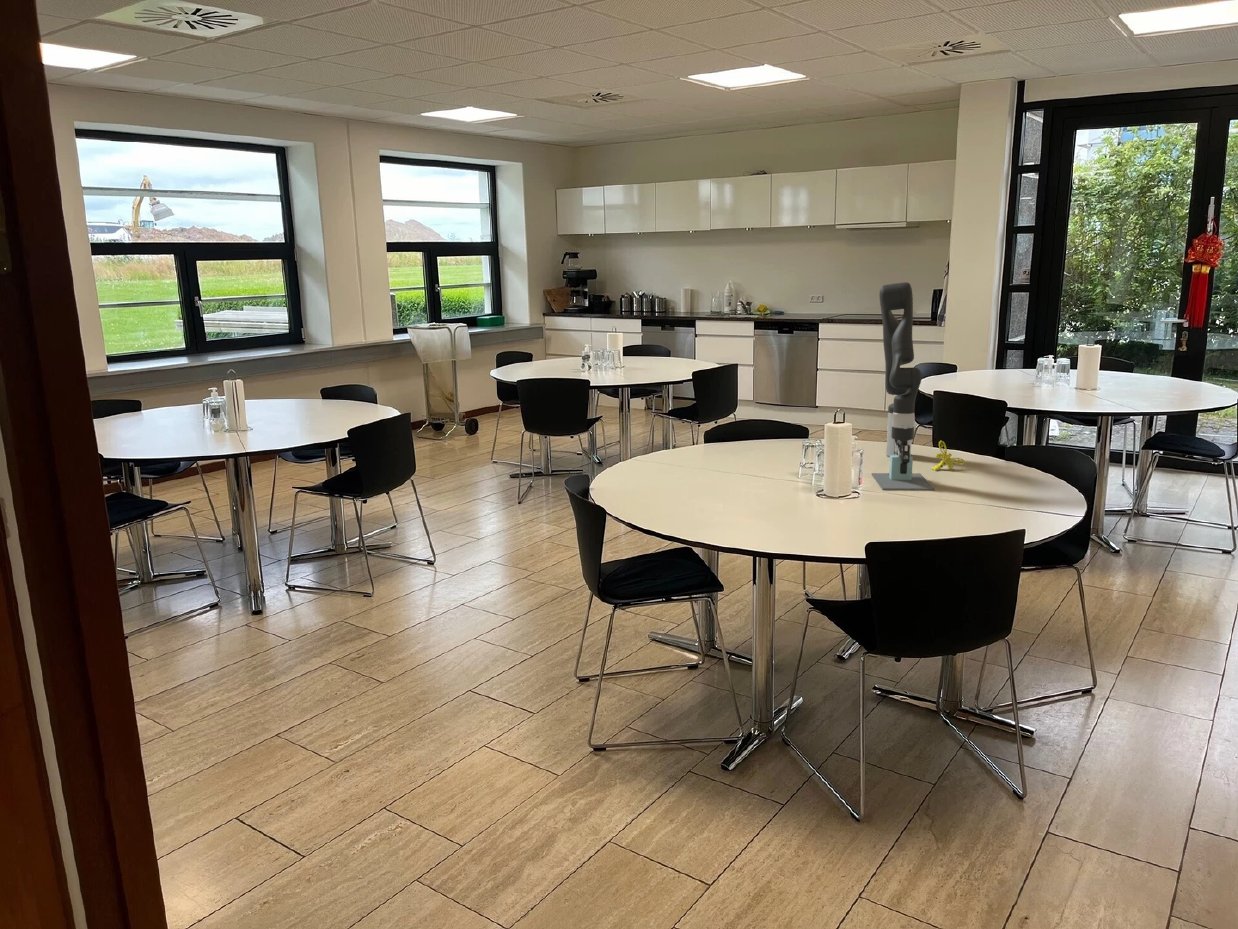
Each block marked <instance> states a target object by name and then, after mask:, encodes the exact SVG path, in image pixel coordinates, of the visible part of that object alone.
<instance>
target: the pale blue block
mask: <svg viewBox="0 0 1238 929" xmlns="http://www.w3.org/2000/svg"><path fill="white" fill-rule="evenodd" d="M904 459H906V458H905V457H904ZM909 460H910V462H909V463H907V473H906V474H901V473H900V458H899V457H898V455H890V457H889V478H890V479H891V480H912V473H913V461H914V457H913V456H912V455H910V458H909Z"/></svg>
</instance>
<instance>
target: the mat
mask: <svg viewBox="0 0 1238 929" xmlns="http://www.w3.org/2000/svg"><path fill="white" fill-rule="evenodd" d="M871 476H872V477H873V479H874V480H875V482H876V483H877V484H878V486H879V487H880V488H881V490H882V491H935V490H936V488H935V487H934V485H932V484H931V483H930V482H929V480H927V478H926V477H925V476H924V475H922V473H920V472H918V473H917V472H916V473H915V472H912V480H891V479H890V478H889V473H888V472H887V473H885V472H878V473H877V472H871Z"/></svg>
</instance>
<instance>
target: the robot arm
mask: <svg viewBox="0 0 1238 929" xmlns="http://www.w3.org/2000/svg"><path fill="white" fill-rule="evenodd" d="M878 295H879V296H878V297H879V306H880V311H881V319H882V336H883V337H882V340H883V341H882V342H883V351H884V361H885V363H884V364H885V379H884V381H885V382H884V384H885V385H884V386H885V392H886V393H887V394H889V395H892V396H894V397H893V403H891V404H889V405H888V407H887V429H886V434H887V435H886V448H885V449H886V450H885V451H886V452H885V454H886V457H889V458H890V455H898V457H899V458H900V473H901V474H906V473H907V463H909V462H910V460H909V458H910V455H911V453H912V440H914V439H915V437H914V436H915V422H916V417H915V407H916V398H917V395H918V391H919V388H920V387H921V386H920V385H921V383H922V378H923V374H922V372H921V369H919V368H918V367H901V366H903V365H904V366H905V365H907V364H910V363H912V362H913V361H914V359H915V351H914V343H913V324H914V322H913V320H914V298H913V297H914V295H913V289H912V286H911V284H910V283H909V282H897V283H896V282H895V283H888V284H883V285H881V287H880V289H879V294H878ZM897 310H903V314H902V318H901V320H900V321H899V320H898V319H897V317H895V316H894V313H893V312H892V311H897ZM911 456H912V455H911ZM904 457H905V458H906V459H904Z"/></svg>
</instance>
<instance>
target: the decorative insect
mask: <svg viewBox="0 0 1238 929" xmlns="http://www.w3.org/2000/svg"><path fill="white" fill-rule="evenodd" d="M946 445H947V444H946V443H945V442H944V441H943V440H940V441H938V448H939V450H940V453H939V452H937V453H936V454H935V458H938V459H942V460H940V462H939V463H937V464H936V465H935V466H931V470H932V471H935V472H937V471H939V470H941V469H942V468H944V467H945V466H946V465H947V468H948V469H949V470H952V469H954V465H958V466H962V465H964V464H965V463H966V460H964V459H963V458H961V457H952V456H953V454H952V453H951V452H947V451H948V449H947V446H946ZM943 447H944V448H943Z"/></svg>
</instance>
